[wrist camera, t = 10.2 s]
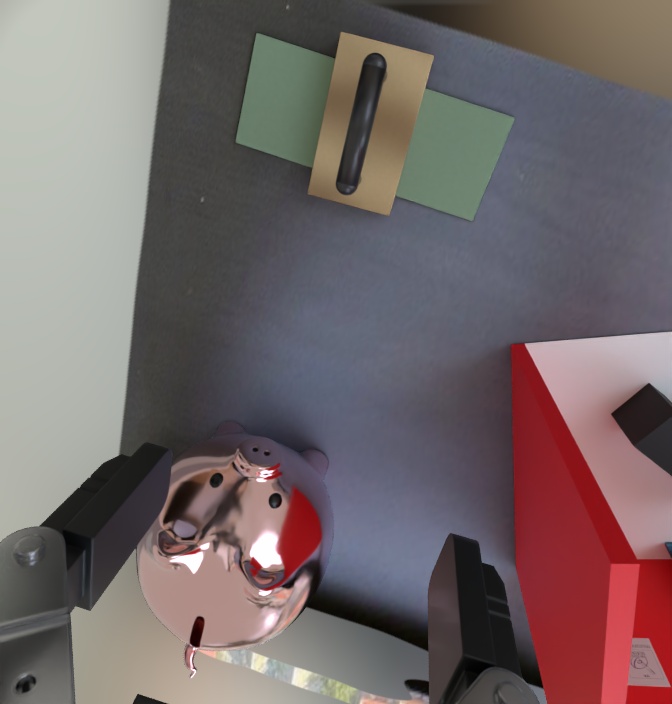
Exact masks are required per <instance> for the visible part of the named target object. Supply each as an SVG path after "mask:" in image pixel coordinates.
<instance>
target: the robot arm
mask: <svg viewBox="0 0 672 704" xmlns="http://www.w3.org/2000/svg"><path fill="white" fill-rule="evenodd" d="M172 459H173V451H172V450H171V449H168V448H165V447H161V446H158V445H155V444H151V443H148V442H146V443H144V444H143V445H142V446H141V447H140V448H139V449H138V450H137V451H136V452H135V453H134V454H133V455H132V456H131V457H129V456H125V455H122V454H121V455H119V456H117V457H115V458H113V459H111V460H109V461H107V462H105V463H103V464H102V465H101V466H100V467H99V468H98V469H97V470H96V471H95V472H94V473H93V474H92V475H91V477H90V478H88V479H87V480H86V481H85V482H84V483H83V484H82V485H81V487H80V488H78V489H77V490H76V491H75V492H74V493H73V494H72V495H71V496H70V497H69V498H67V499H66V501H64V503H62V504H61V505H60V506H59V507H58V508H57V509H56V511H54V512H53V513H52V514H51V515H50V516H49V517H48V518H47V519H46V520H45V521H44V522H43V523H42V524H41V525H40V526H39V527H29V528H25V529H22V530H18V531H16V532H14V533H12V534H10V535H9V536H7V537H6V538H4V539H3V540H2V541H1V542H0V704H75V689H74V671H73V670H74V669H73V652H72V635H71V617H70V613H71V612H72V610H73V609H74V607H75V606H77V607H80V608H83V609H86V610H89V611H90V610H91V609H92V608H93V606H94V605H95V603H96V602H97V601H98V599H99V598H100V597H101V595H102V594H103V592H104V591H105V589H106V588H107V587H108V585H109V584H110V583H111V581H112V580H113V579H114V577H115V576H116V574H117V573H118V571H119V570H120V569H121V567H122V566H123V564H124V563H125V562H126V560H127V559H128V558H129V556H130V555H131V553H132V552H133V551H134V549H135V548H136V547H137V545H138V544H139V542H140V541H141V540H142V538H143V537H144V535H145V534H146V533H147V531H148V530H149V528H150V527H151V526H152V524H153V523H154V522H155V520H156V519H157V517H158V516H159V515H160V513H161V511H162V510H163V508H164V505H165V503H166V500H167V497H168V493H169V485H170V477H171V468H172ZM428 640H429V704H540V703H539V701H538V699H537V697H536V695H535V693H534V692H533V690H532V689H531V688H530V686H529V685H528V684H527V683H526V682H525V681H524V680H523V679H522V675H521V670H520V665H519V660H518V654H517V649H516V644H515V639H514V633H513V628H512V623H511V620H510V612H509V607H508V605H507V596H506V591H505V586H504V583H503V581H502V580H501V578H500V576H499V575H498V573H497V571H496V570H495V568H494V566H491V565H488V564H484V563H482V561H481V554H480V547H479V543H478V541H476V540H473V539H469V538H466V537H462V536H459V535H456V534H452V533H450V534H449V535H448V537H447V539H446V541H445V544H444V546H443V548H442V551H441V553H440V555H439V558H438V560H437V563H436V565H435V567H434V570H433V572H432V575H431V579H430V583H429V589H428ZM133 704H167V703H163V702H161V701H158V700H155V699H152V698H149V697H145V696H142V695H139V694H137V696H136V698H135V700H134V702H133Z"/></svg>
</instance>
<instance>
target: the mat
mask: <svg viewBox="0 0 672 704" xmlns="http://www.w3.org/2000/svg"><path fill="white" fill-rule="evenodd" d="M334 62H335V58H332V57H329V56H326V55H323V54H320V53H317V52H314V51H311V50H308V49H305V48H301V47H298V46H295V45H292V44H289V43H286V42H283V41H280V40H277V39H274V38H271V37H268V36H265V35H262V34H259V33H256V38H255V43H254V49H253V54H252V59H251V64H250V69H249V74H248V80H247V85H246V90H245V95H244V100H243V105H242V111H241V116H240V121H239V126H238V131H237V136H236V143H239V144H242V145H245V146H248V147H251V148H254V149H257V150H260V151H263V152H266V153H269V154H272V155H275V156H278V157H281V158H284V159H287V160H290V161H293V162H296V163H299V164H302V165H305V166H308V167H311V168H313V164H314V159H315V154H316V150H317V145H318V140H319V135H320V130H321V125H322V121H323V116H324V111H325V106H326V101H327V96H328V91H329V87H330V82H331V77H332V72H333V67H334ZM514 120H515V118H514V117H511V116H508V115H505V114H502V113H499V112H496V111H493V110H490V109H487V108H484V107H481V106H478V105H475V104H472V103H469V102H466V101H463V100H459V99H456V98H453V97H450V96H447V95H444V94H441V93H438V92H435V91H432V90H429V89H426V88H425V91H424V95H423V98H422V102H421V105H420V109H419V113H418V116H417V120H416V123H415V127H414V131H413V134H412V138H411V141H410V145H409V148H408V152H407V156H406V159H405V163H404V166H403V170H402V173H401V177H400V181H399V184H398V188H397V191H396V195H395V196H398V197H401V198H404V199H407V200H410V201H413V202H416V203H419V204H422V205H425V206H428V207H431V208H434V209H437V210H440V211H443V212H446V213H449V214H452V215H455V216H458V217H461V218H464V219H467V220H470V221H473V219H474V217H475V214H476V212H477V209H478V207H479V205H480V202H481V200H482V197H483V195H484V192H485V190H486V188H487V185H488V183H489V180H490V178H491V175H492V173H493V171H494V168H495V166H496V163H497V161H498V158H499V156H500V154H501V151H502V149H503V146H504V144H505V141H506V139H507V137H508V134H509V132H510V129H511V127H512V124H513V122H514Z"/></svg>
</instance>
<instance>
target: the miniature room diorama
mask: <svg viewBox="0 0 672 704" xmlns="http://www.w3.org/2000/svg"><path fill="white" fill-rule="evenodd" d="M511 369H512V415H513V461H514V507H515V552H516V570H517V574H518V578H519V583H520V587H521V591H522V596H523V600H524V604H525V609H526V613H527V617H528V622H529V626H530V630H531V635H532V639H533V643H534V648H535V652H536V656H537V661H538V665H539V669H540V674H541V678H542V682H543V687H544V691H545V695H546V700H547V704H672V332H659V333H647V334H635V335H622V336H610V337H598V338H585V339H573V340H561V341H548V342H536V343H524V344H511Z"/></svg>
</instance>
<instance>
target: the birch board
mask: <svg viewBox="0 0 672 704" xmlns="http://www.w3.org/2000/svg"><path fill="white" fill-rule="evenodd" d="M433 59H434V55H431V54H427V53H423V52H419V51H415V50H411V49H407V48H403V47H399V46H396V45H392V44H388V43H384V42H380V41H376V40H372V39H368V38H364V37H361V36H357V35H353V34H349V33H345V32H341V33H340V38H339V43H338V48H337V53H336V58H335V62H334V67H333V72H332V77H331V82H330V87H329V91H328V96H327V101H326V106H325V111H324V116H323V121H322V125H321V130H320V135H319V140H318V145H317V150H316V154H315V159H314V164H313V169H312V174H311V179H310V184H309V188H308V194H310V195H313V196H317V197H321V198H324V199H328V200H332V201H335V202H339V203H343V204H346V205H350V206H354V207H357V208H361V209H365V210H369V211H372V212H376V213H380V214H383V215H387V216H389V215H390V213H391V209H392V206H393V202H394V198H395V195H396V191H397V188H398V184H399V181H400V177H401V173H402V170H403V166H404V163H405V159H406V156H407V152H408V148H409V145H410V141H411V138H412V134H413V131H414V127H415V123H416V120H417V116H418V113H419V109H420V105H421V102H422V98H423V95H424V91H425V88H426V84H427V80H428V77H429V73H430V70H431V66H432V63H433Z"/></svg>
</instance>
